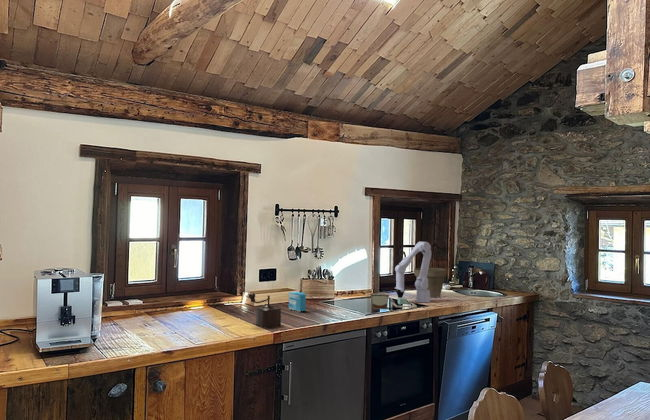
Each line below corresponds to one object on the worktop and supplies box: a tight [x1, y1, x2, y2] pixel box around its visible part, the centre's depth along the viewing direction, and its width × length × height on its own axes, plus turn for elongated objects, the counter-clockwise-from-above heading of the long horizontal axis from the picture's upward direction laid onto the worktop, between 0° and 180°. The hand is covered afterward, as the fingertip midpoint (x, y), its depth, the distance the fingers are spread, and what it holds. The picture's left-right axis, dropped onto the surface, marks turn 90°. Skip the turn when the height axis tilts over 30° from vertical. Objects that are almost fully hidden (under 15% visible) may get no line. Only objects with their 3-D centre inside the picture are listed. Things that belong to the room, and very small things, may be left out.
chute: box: [390, 298, 418, 308], centre depth 336 cm, size 14×26×2 cm, turn 4°
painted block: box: [397, 296, 408, 306], centre depth 337 cm, size 5×7×4 cm
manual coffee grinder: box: [248, 292, 282, 328], centre depth 261 cm, size 16×11×18 cm
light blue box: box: [288, 291, 307, 312], centre depth 306 cm, size 12×4×12 cm, turn 43°
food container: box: [370, 292, 390, 310], centre depth 319 cm, size 12×6×10 cm, turn 84°
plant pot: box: [413, 267, 447, 299], centre depth 374 cm, size 25×25×22 cm
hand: (400, 300), depth 342 cm, fingers closed
